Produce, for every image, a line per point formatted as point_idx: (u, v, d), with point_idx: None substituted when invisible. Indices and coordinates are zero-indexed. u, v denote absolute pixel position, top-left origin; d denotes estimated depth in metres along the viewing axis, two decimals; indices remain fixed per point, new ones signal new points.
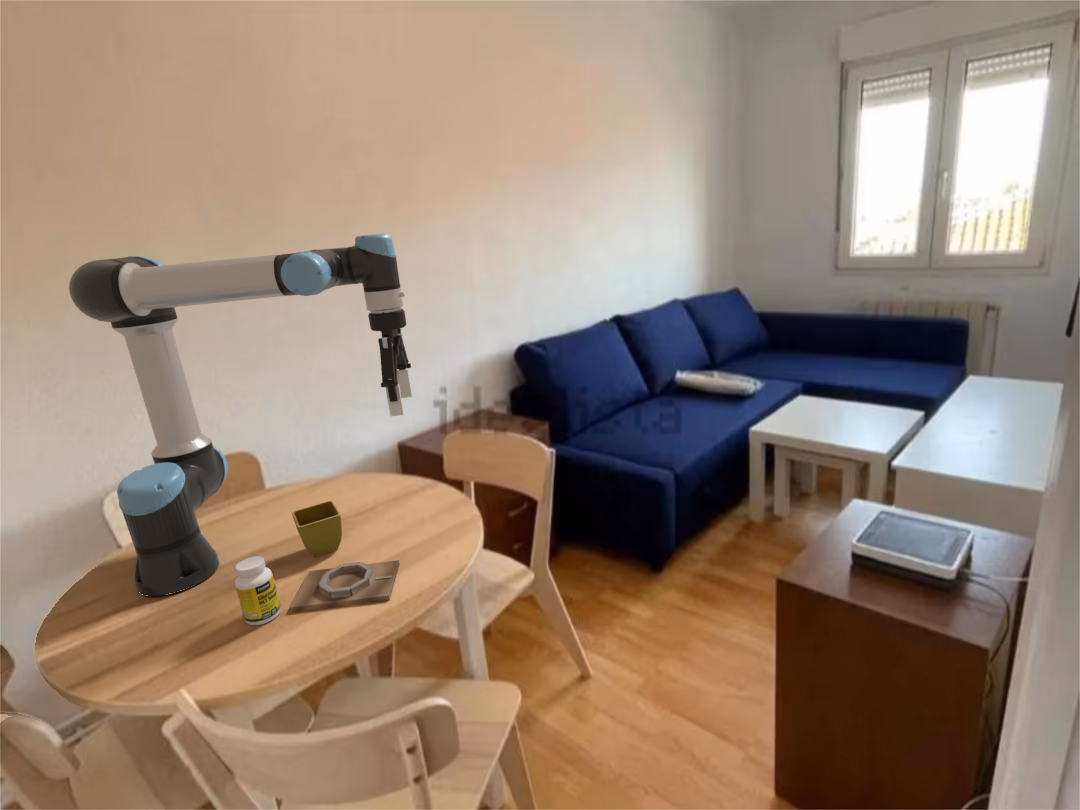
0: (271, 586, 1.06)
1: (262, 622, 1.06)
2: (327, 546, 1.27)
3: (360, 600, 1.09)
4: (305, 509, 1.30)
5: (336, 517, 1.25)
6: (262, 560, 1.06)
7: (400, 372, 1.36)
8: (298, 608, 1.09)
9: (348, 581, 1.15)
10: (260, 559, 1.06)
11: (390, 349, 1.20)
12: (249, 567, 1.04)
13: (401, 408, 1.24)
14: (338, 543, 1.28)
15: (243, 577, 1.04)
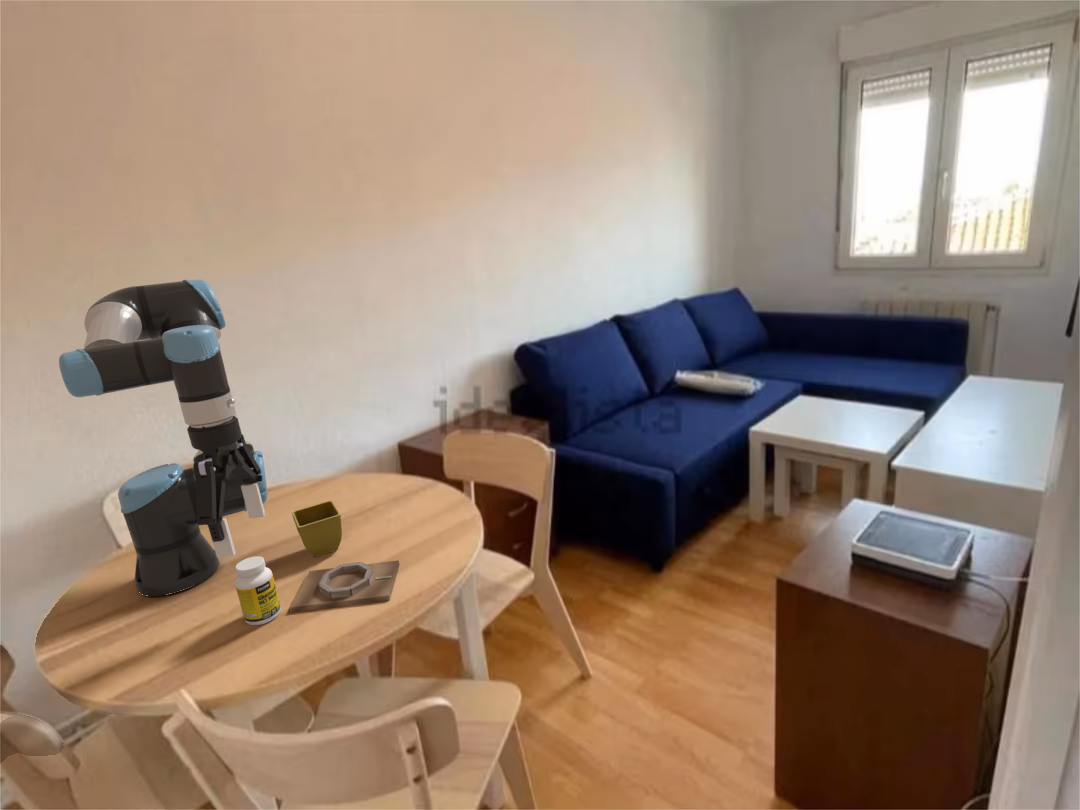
0: (271, 586, 1.06)
1: (262, 622, 1.06)
2: (327, 546, 1.27)
3: (360, 600, 1.09)
4: (305, 509, 1.30)
5: (336, 517, 1.25)
6: (262, 560, 1.06)
7: (247, 488, 1.08)
8: (298, 608, 1.09)
9: (348, 581, 1.15)
10: (260, 559, 1.06)
11: (209, 477, 0.93)
12: (249, 567, 1.04)
13: (230, 547, 0.97)
14: (338, 543, 1.28)
15: (243, 577, 1.04)
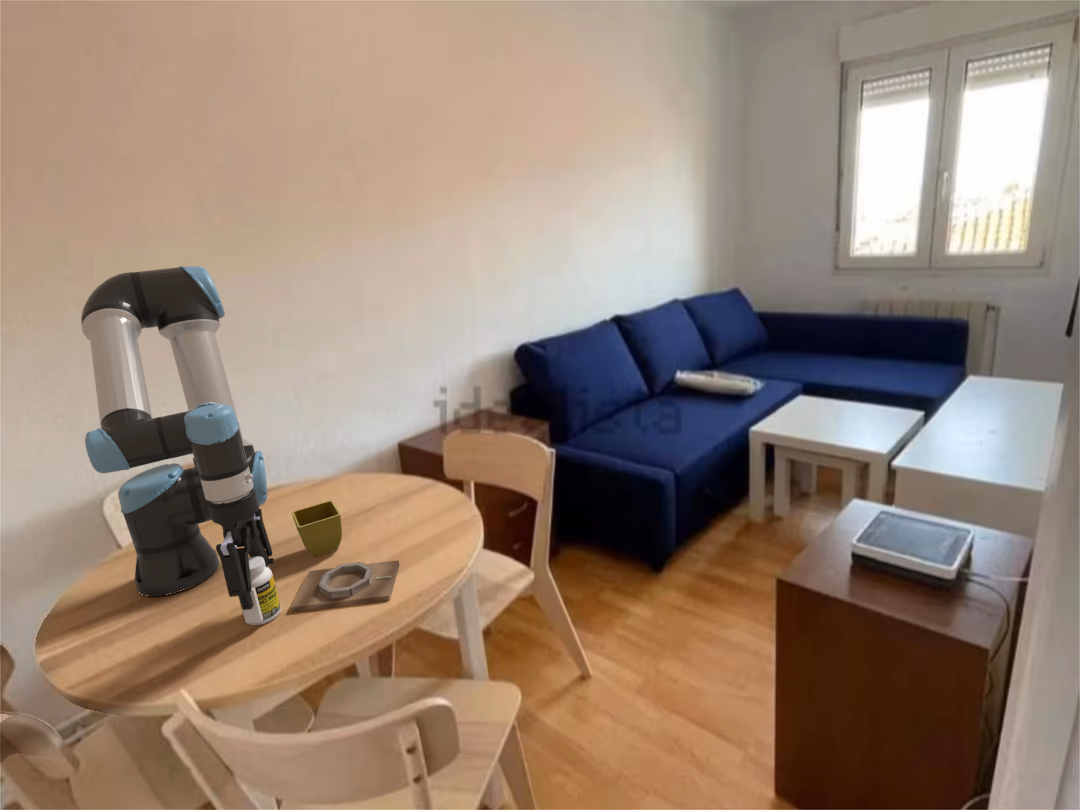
0: (271, 586, 1.06)
1: (262, 622, 1.06)
2: (327, 546, 1.27)
3: (360, 600, 1.09)
4: (305, 509, 1.30)
5: (336, 517, 1.25)
6: (262, 560, 1.06)
7: None
8: (298, 608, 1.09)
9: (348, 581, 1.15)
10: (260, 559, 1.06)
11: (233, 557, 0.98)
12: (249, 567, 1.04)
13: (258, 614, 1.04)
14: (338, 543, 1.28)
15: None
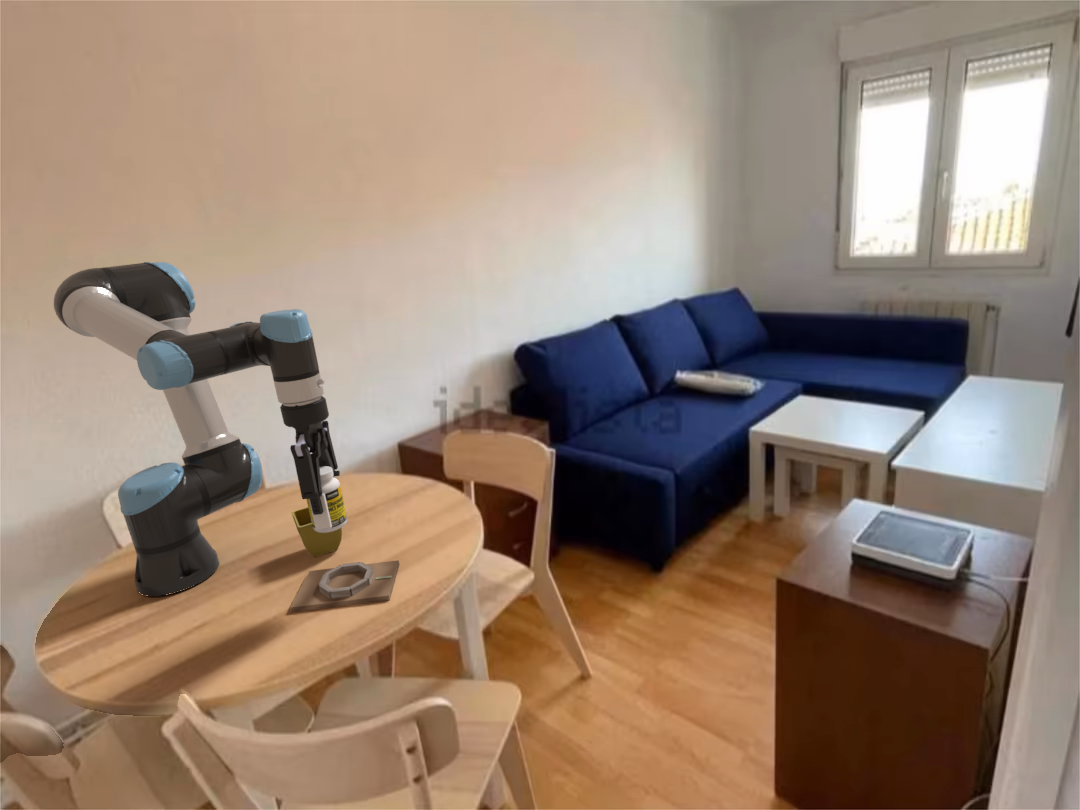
0: (339, 494, 1.08)
1: (331, 529, 1.07)
2: (327, 546, 1.27)
3: (360, 600, 1.09)
4: (305, 509, 1.30)
5: None
6: (331, 468, 1.08)
7: None
8: (298, 608, 1.09)
9: (348, 581, 1.15)
10: (328, 468, 1.08)
11: (306, 458, 1.00)
12: None
13: (328, 520, 1.06)
14: (338, 543, 1.28)
15: None
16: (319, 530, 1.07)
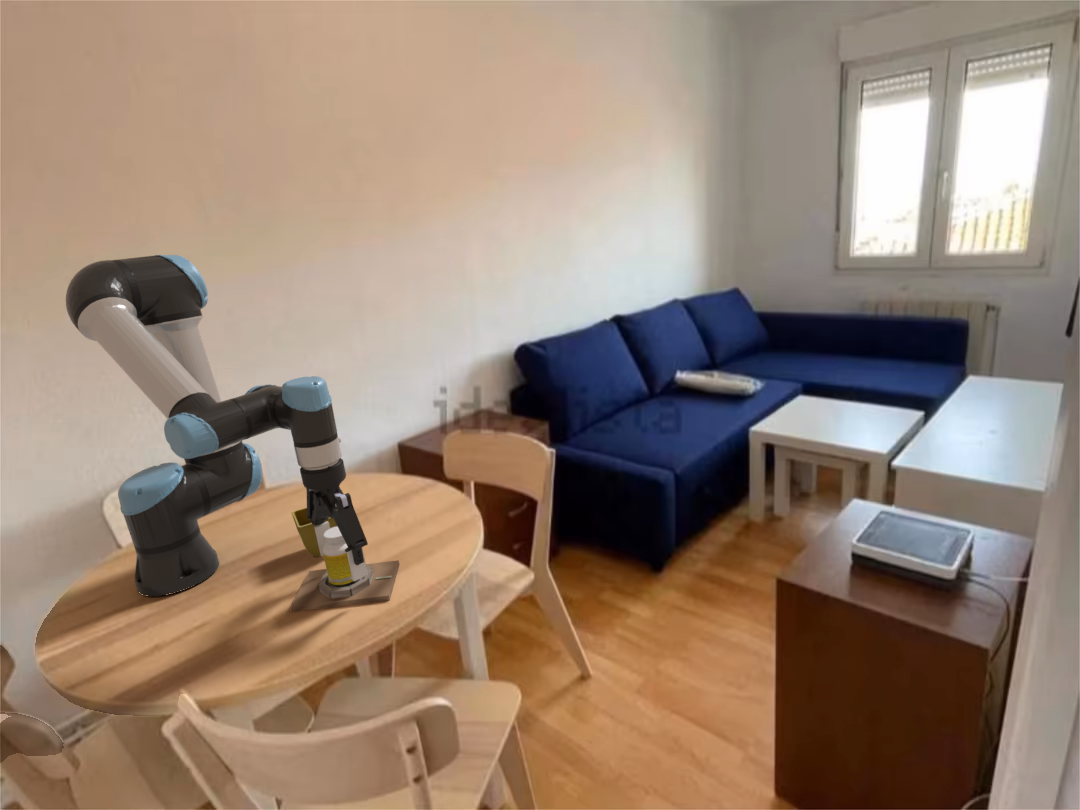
0: None
1: None
2: None
3: (360, 600, 1.09)
4: (305, 509, 1.30)
5: None
6: None
7: (321, 527, 1.16)
8: (298, 608, 1.09)
9: None
10: None
11: (351, 506, 1.05)
12: None
13: (365, 568, 1.09)
14: None
15: (339, 543, 1.10)
16: None
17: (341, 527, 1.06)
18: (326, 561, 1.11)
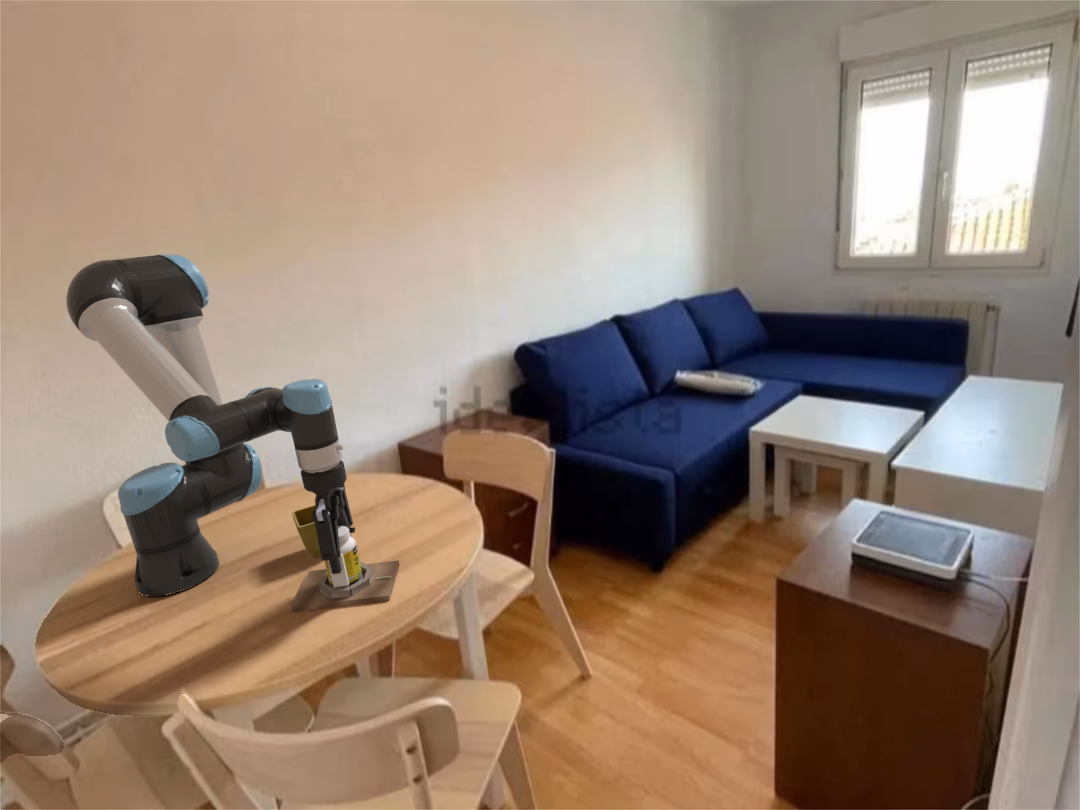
0: None
1: None
2: None
3: (360, 600, 1.09)
4: (305, 509, 1.30)
5: None
6: (344, 526, 1.13)
7: None
8: (298, 608, 1.09)
9: None
10: (341, 527, 1.13)
11: (327, 522, 1.04)
12: (342, 533, 1.11)
13: (345, 578, 1.10)
14: None
15: (339, 544, 1.10)
16: None
17: None
18: (326, 561, 1.11)
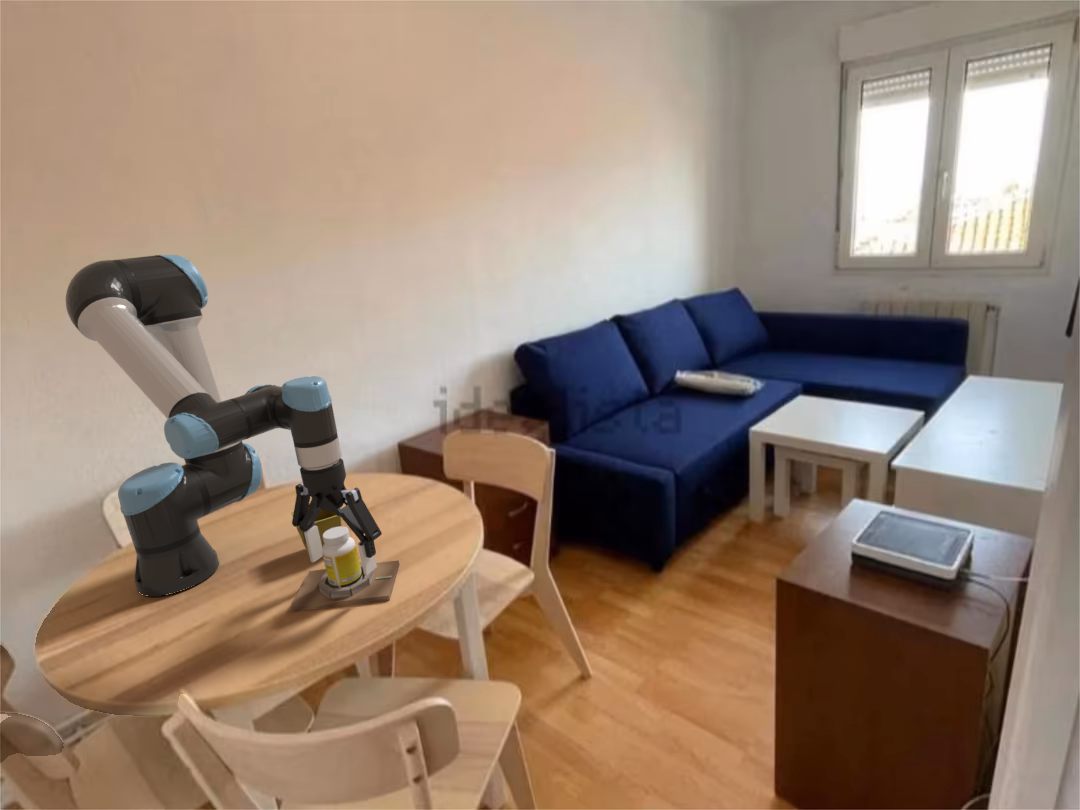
0: None
1: None
2: None
3: (360, 600, 1.09)
4: None
5: (336, 517, 1.25)
6: None
7: (311, 532, 1.14)
8: (298, 608, 1.09)
9: None
10: (331, 529, 1.13)
11: (361, 500, 1.07)
12: (344, 529, 1.12)
13: (374, 560, 1.11)
14: None
15: (347, 539, 1.12)
16: (360, 579, 1.14)
17: (351, 522, 1.07)
18: (340, 562, 1.10)
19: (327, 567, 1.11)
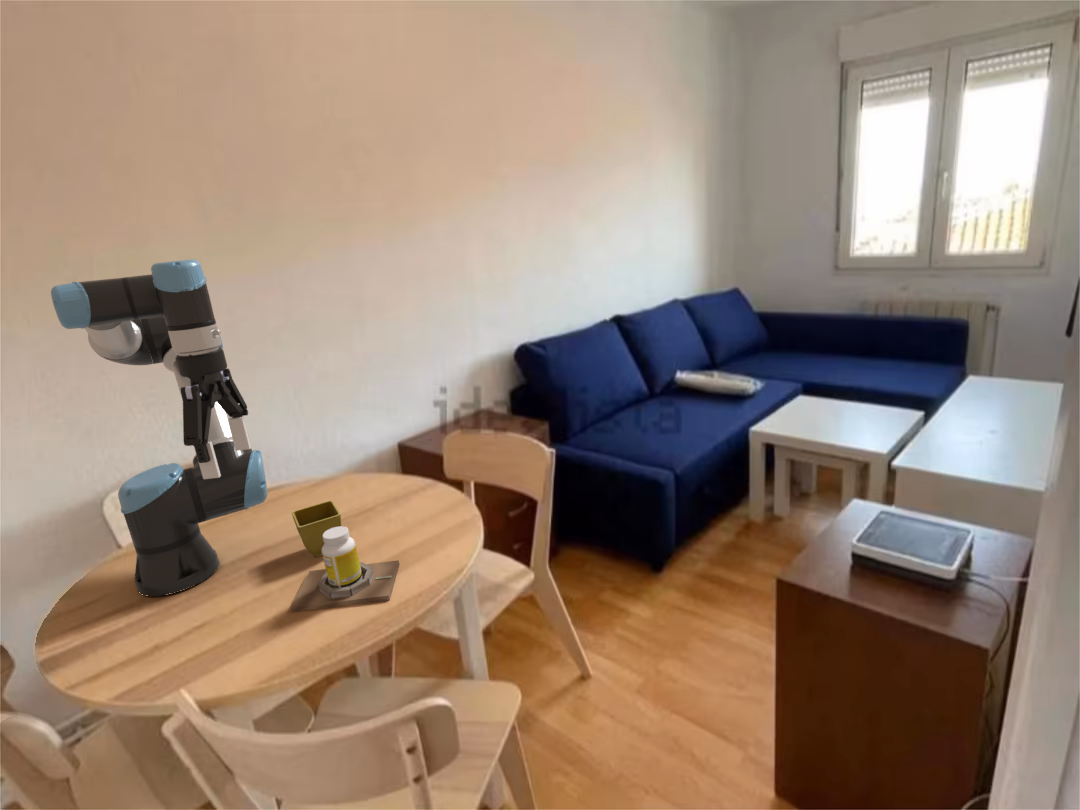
0: None
1: None
2: None
3: (360, 600, 1.09)
4: (305, 509, 1.30)
5: (336, 517, 1.25)
6: None
7: (233, 421, 1.14)
8: (298, 608, 1.09)
9: None
10: (331, 529, 1.13)
11: (195, 400, 0.99)
12: (344, 529, 1.12)
13: (215, 469, 1.03)
14: None
15: (347, 539, 1.12)
16: (360, 579, 1.14)
17: None
18: (340, 562, 1.10)
19: (327, 567, 1.11)
